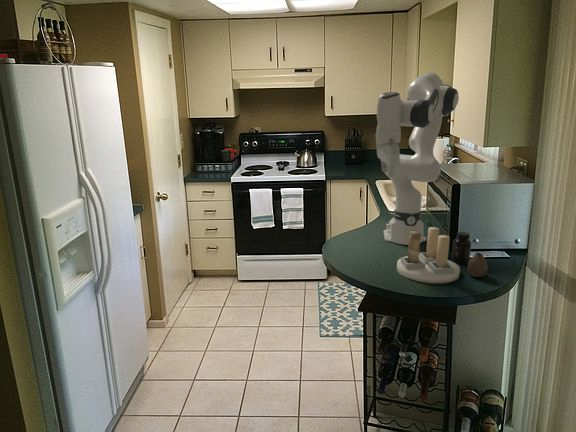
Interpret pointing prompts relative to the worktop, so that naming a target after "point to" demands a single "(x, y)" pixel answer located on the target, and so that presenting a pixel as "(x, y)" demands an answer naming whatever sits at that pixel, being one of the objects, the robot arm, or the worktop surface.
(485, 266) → the vase
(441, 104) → the robot arm
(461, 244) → the supplement bottle
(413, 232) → the stool leg
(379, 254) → the worktop surface
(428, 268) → the stool seat
